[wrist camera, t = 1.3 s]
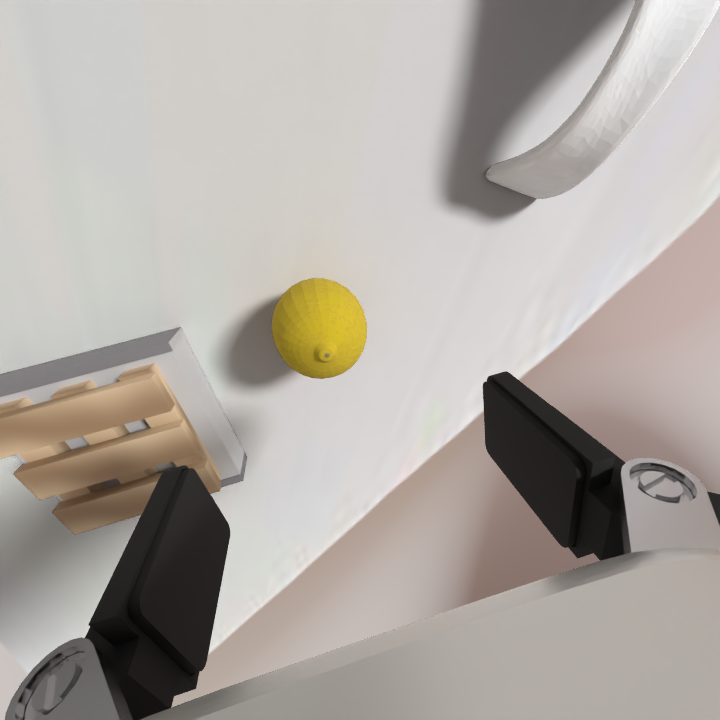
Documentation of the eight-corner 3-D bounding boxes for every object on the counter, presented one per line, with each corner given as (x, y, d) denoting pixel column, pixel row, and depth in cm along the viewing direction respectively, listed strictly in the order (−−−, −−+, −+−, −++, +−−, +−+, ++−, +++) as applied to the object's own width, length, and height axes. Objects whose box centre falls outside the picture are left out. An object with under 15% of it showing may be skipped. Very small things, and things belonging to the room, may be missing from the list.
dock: (-7, 376, 21) (-44, 398, 19) (180, 327, 22) (167, 342, 20) (101, 499, 27) (84, 528, 24) (246, 457, 28) (243, 480, 25)
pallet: (-10, 406, 19) (-37, 425, 18) (160, 361, 20) (149, 375, 18) (90, 514, 24) (76, 536, 22) (225, 474, 25) (220, 493, 23)
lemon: (310, 357, 25) (319, 421, 18) (257, 302, 22) (242, 350, 15) (368, 311, 24) (401, 359, 17) (320, 249, 21) (335, 275, 14)
